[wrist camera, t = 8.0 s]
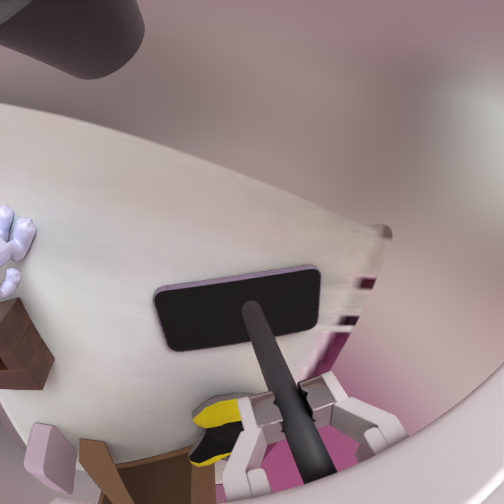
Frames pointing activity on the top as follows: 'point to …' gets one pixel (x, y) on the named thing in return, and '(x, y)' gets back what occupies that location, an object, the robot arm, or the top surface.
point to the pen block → (21, 350)
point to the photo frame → (148, 477)
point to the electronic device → (51, 458)
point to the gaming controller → (217, 428)
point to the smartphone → (237, 307)
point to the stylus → (287, 399)
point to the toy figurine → (13, 247)
